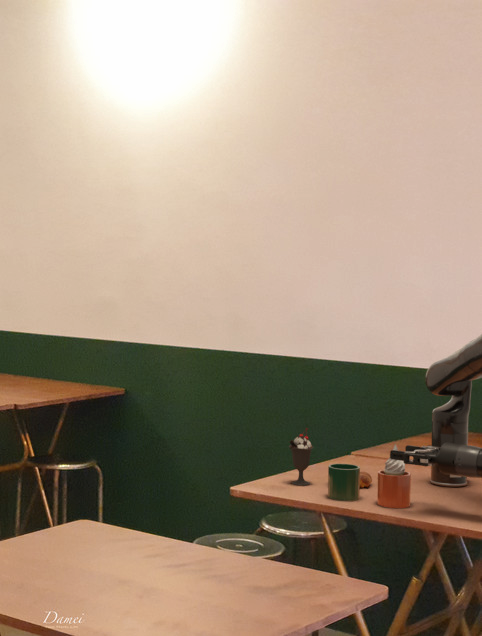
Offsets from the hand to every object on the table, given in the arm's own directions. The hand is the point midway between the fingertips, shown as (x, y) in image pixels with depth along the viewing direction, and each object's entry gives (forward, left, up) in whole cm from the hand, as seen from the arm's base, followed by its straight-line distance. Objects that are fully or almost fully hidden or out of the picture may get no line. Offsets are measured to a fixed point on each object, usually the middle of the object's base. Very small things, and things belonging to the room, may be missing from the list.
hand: (398, 451), depth 271 cm
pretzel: (-16, -17, -14) cm, 27 cm away
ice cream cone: (0, -1, -13) cm, 13 cm away
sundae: (-11, -29, -14) cm, 34 cm away
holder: (0, -1, -13) cm, 13 cm away
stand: (-1, -14, -13) cm, 19 cm away
